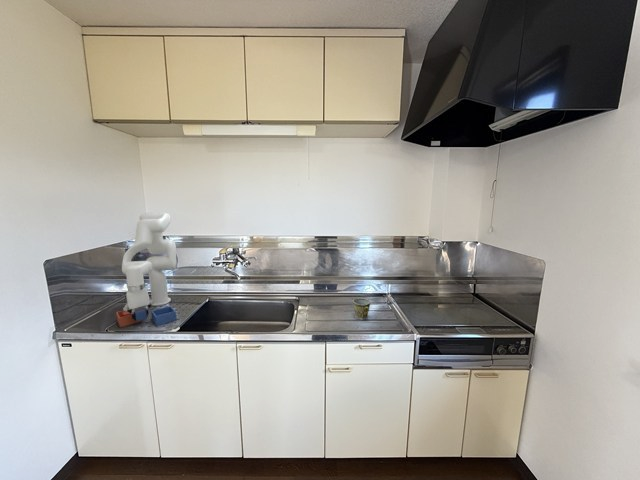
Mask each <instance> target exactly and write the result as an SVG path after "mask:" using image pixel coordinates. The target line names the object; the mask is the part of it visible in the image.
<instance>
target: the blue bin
mask: <svg viewBox="0 0 640 480" xmlns="http://www.w3.org/2000/svg"><path fill="white" fill-rule="evenodd" d="M150 313H151V320H152V322H153V323H154V324H155V326H156V327H159V326H161V325H164V324H169V323H172V322H175V321H177V311H176V310H175V308H173V307H172V306H171V305H169V306H165V307H160V308H157V309H154V310H153V309H152V310H151V311H150Z"/></svg>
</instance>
